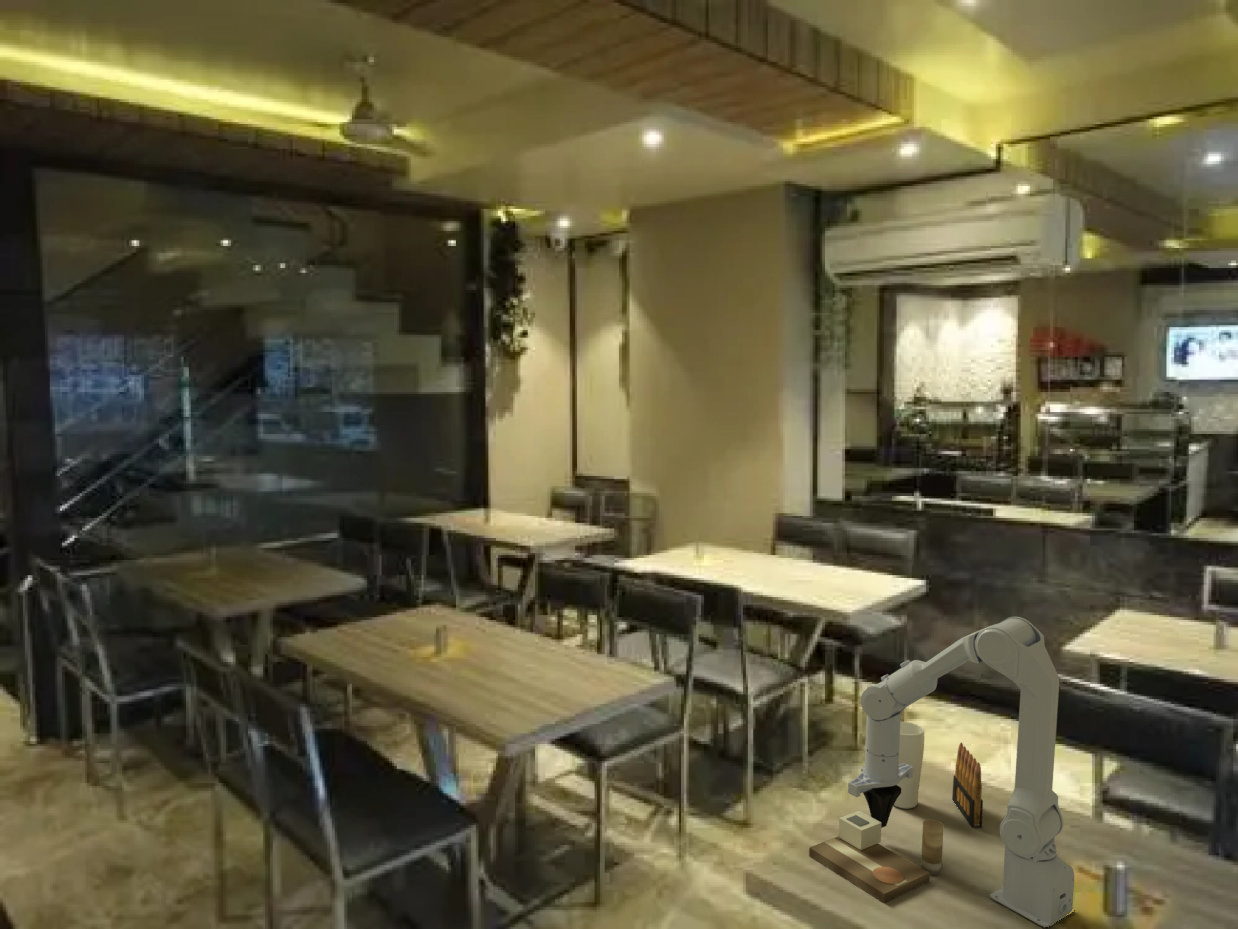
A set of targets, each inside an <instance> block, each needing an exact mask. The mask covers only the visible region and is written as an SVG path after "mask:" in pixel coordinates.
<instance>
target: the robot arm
mask: <svg viewBox="0 0 1238 929" xmlns="http://www.w3.org/2000/svg"><path fill="white" fill-rule="evenodd" d="M969 661H970V662H972V663H974V664H977V665H978V664H981V663H984V664H986V666H988V667H990V668H992V669H993V670H995V671H996V672H998V673H999V674H1001V675H1003V676H1005V677H1006V678H1007V679H1009V680H1010V681H1012V682H1013V684H1015V685H1016V687H1017V688H1018V689H1020V690H1019V691H1020V695H1019V696H1020V697H1019V712H1018V727H1017V728H1018V729H1017V730H1018V731H1017V744H1016V762H1015V775H1014V778H1015V779H1014V788H1013V791H1012V792H1011V793H1012V794H1011V796H1010V797H1009V801H1008V803H1007V807H1006V808H1007V811H1006V815H1005V816H1004V818H1003V819H1002V820H1001V822H1000V824H999V835H1000V838H1001V840H1002V843H1003V844H1004V859H1003V875H1002V876H1003V878H1002V888H1000V889H997V890H996V891H993V892H992V893H990V895H989V898H990V899H992V900H993V901H995V902H997V903H999V904H1001V905H1002V906H1005V907H1006V908H1008V909H1010V910H1012V911H1013V912H1015V913H1017V914H1019V915H1021V916H1023V917H1024V918H1027V919H1028V920H1030V921H1032V922H1033V923H1036V924H1037V925H1039V926H1041V927H1042V926H1043V927H1042V928H1045V927H1048V928H1050V927H1052V926H1053V925H1055V924H1057V923H1058V922H1060V921H1062V920H1063V919H1062V918H1064V917H1065V916H1066V915H1067V914H1069V913H1070V912H1071V911H1072V909H1073V908H1074V906H1073V905H1074V890H1075V889H1074V888H1075V872H1074V871H1075V870H1074V868H1073V867H1072V866H1071V865H1070V864H1068V863H1067V862H1065V861H1064V860H1063V859H1062V858H1061V857H1060V856H1059V854H1058V853H1057V852H1058V851H1057V845H1056V841H1055V840H1056V839H1055V837H1057V836H1058V835H1060V833H1061V832H1062V830H1063V828H1064V817H1063V815H1062V813H1061V810H1060V808H1059V807H1060V806H1059V795H1058V794H1057V793H1056V792H1055V791H1053V783H1054V770H1055V755H1056V739H1057V738H1056V737H1057V724H1058V723H1057V722H1058V707H1059V693H1060V692H1059V690H1060V677H1059V673H1058V672H1057V669H1056V668H1055V665H1054V663H1053V661H1052V659H1051V656H1050V654H1049V652H1048V650H1047V648H1046V645H1045V635H1044V634H1043V633H1042V632H1041V631H1040V630H1039V629H1038V628H1037V627H1036V626H1035V625H1033V623H1031V621H1029V620H1027V619H1025V618H1023V617H1020V616H1011V617H1007V618H1006V619H1004V620H1002V621H1001V622H999V623H995V624H992V625H989V626H987V627H985V628H982V629H979V630H977V631H975V632H972V633H970V634H968V635H965V636H963V637H961V638H959V639H958V640H956V641H955V642H954V643H952V644H951V645H950V646H947V647H946V648H945V649H944V650H942V651H940V652H939V653H938V654H936V655H934V656H933V657H932V658H931V659H930V658H929V659H928V660H927V661H923V660H919V659H914V660H909V659H907V660H905V661H904V662H902V663H900V664H899V666H900V668H899V669H898V670H896V671H894V672H893V673H891V674H888V673H887V674H885V675H883V676H881V677H880V679H881V681H880V682H879V683H876V684H873V685H869V686H867V687H866V689H865V690H863V692H862V693H861V697H860V704H861V705H860V706H861V709H862V710H863V711H864V713H865V715H866V722H865V723H866V724H865V743H864V744H865V747H864V749H865V751H864V752H865V753H864V765H863V766H862V765H861V767H860V773H859V774H858V775H857V776H856V777H855V778H854V779H853V780H851V781H848V783H847V793H848V794H849V795H851V796H853V797H855V798H858V797H861V794H863V795H864V798H865V800H866V802H867V806H868V809H869V813H870V817H872V818H874V819H876V820H878V821H879V822H881V829H882V828H885V827H887V824H888V822H889V819H890V815H891V813H892V810H893V807H894V803H895V801H896V800H897V798H898V797H899V795H900V794H901V787H899V786H897V784H898V783H899V782H900V781H901V780H902V779H903V778H905V777H907V778H912V777H913V767H912V766H910V765H907V764H905V763H903V764H899V747H900V722H902V721H901V720H902V713H903V712H904V710H906V708H907V707H909V706H911V705H913V704H914V703H916V702H918V701H919V700H921V699H922V698H924V697H926V696H927V695H929V694H931V693H933V692H934V691H935V690H936V689H937V685H938V679H939V678H941V677H943V676H945V675H946V674H949V673H950V672H951V671H954V670H955V669H957V668H959V667H960V666H962V665H964V664H966V663H968V662H969ZM1065 918H1066V917H1065ZM1065 918H1064V919H1065ZM1061 919H1062V920H1061ZM1059 920H1060V921H1059ZM1057 921H1058V922H1057ZM1056 922H1057V923H1056ZM1054 923H1055V924H1054ZM1049 926H1050V927H1049Z"/></svg>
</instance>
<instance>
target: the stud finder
mask: <svg viewBox="0 0 1238 929" xmlns="http://www.w3.org/2000/svg"><path fill="white" fill-rule="evenodd" d="M838 836H839V838H841V839H842V840H844V841H846V842H848V843H849V844H851V845H853V846H854V847H856V848H858V849H860V850H862V849H865V848H867V847H870V846H872V845H875V844H877V843H878V844H880V843H881V841H882V828H881V822H879V821H878V820H876V819H874V818H872V817H871V815H868V814H866V813H865V812H863V811H860V810H857V811H854V812H852V813H849V814H846V815H844V816H841V817H839V818H838Z"/></svg>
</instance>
